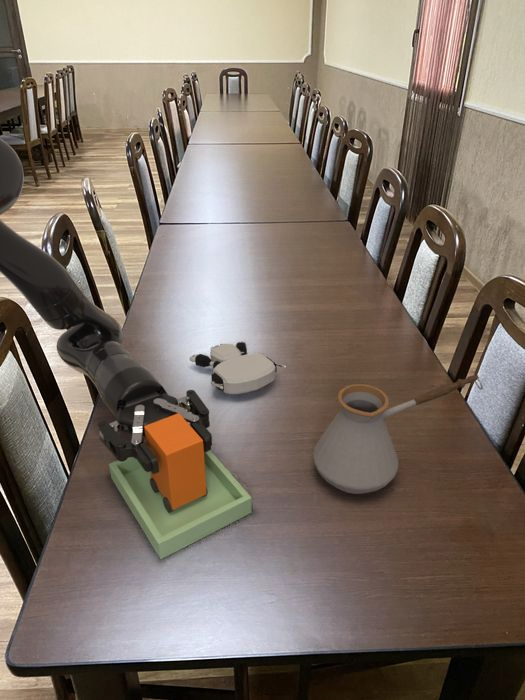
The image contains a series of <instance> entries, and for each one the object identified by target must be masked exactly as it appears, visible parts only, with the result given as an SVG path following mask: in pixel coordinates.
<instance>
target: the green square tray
mask: <svg viewBox="0 0 525 700" xmlns="http://www.w3.org/2000/svg"><path fill="white" fill-rule="evenodd" d="M204 464H205V480H206V488H207V491H208V494H207V495H206V496H204V497H200V498H198V499H195V500H193V501H191V502H189V503H187V504H185V505H183V506H181V507H178V508H176V509H175V510H174V511H172V512H170V513H168V512H167V510H166V509H165V506H164V503H163V498H164V497H163V496H162V494H161V493H160V491H159V492H157V493H155V492H154V491H153V489H152V487H151V485H150V478H151V474H150V472H146V471H145V470H144V469H143V467H142V466H141V465H140V463H139V462H138V460H137V459H135V458H134V457H129V458H128V459H127V460H126V461H123V462H120V461H118V460H117V459H116V460H115V461H112V462H110V463H108V466H109V472H110V478H111V480H112V482H113V483H114V485H115V487H116V488H117V490H118V491H119V494H120V495H121V496H122V499H123V500H124V502H125V504H126V505H127V507H128V508H129V510H130V511H131V513H132V515H133V516H134V518H135V520H136V521H137V523H138V525H139V526H140V528H141V530H142V531H143V533H144V535H145V536H146V538H147V540H148V541H149V543H150V544H151V546H152V548H153V549H154V551H155V553H156V554H157V557H158V558H159V559H160V560H163V559H164V558H167V557H168V556H170V555H172V554H174V553H176V552H178V551H180V550H182V549H184V548H186V547H188V546H190V545H192V544H193V543H195V542H197V541H199V540H201V539H203V538H205V537H207V536H209V535H211V534H213V533H215V532H217V531H219V530H221V529H223V528H225V527H227V526H228V525H230V524H232V523H234V522H236V521H238V520H240V519H242V518H244V517H246V516H248V515H250V514H252V512H253V511H252V504H253V503H252V502H253V501H252V500H253V499H252V496H251V495H250V494H249V493H248V492H247V491H246V489H245V487H243V486H242V485H241V484H240V482H238V480H237V479H236V478H235V477H234V476H233V474H232V473H230V471H229V470H228V469H227V468H226V467H225V466H224V464H223V463H222V462H221V461H220V459H219V458H218V457H217V456H216V455H215V454H214V453H213V452H212V450H210V451H208V452H204Z"/></svg>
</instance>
